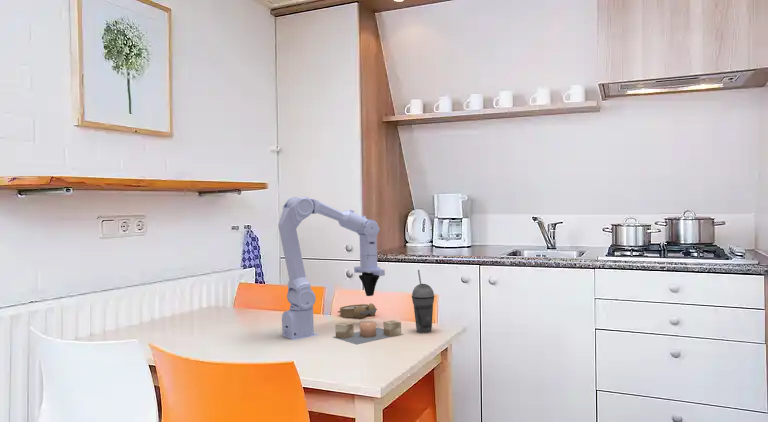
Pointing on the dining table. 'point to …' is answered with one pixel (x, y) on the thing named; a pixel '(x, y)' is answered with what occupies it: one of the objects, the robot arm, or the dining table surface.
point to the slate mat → (359, 340)
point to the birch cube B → (392, 328)
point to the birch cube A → (344, 330)
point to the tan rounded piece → (368, 329)
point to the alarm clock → (358, 310)
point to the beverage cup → (423, 306)
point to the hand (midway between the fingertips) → (369, 295)
